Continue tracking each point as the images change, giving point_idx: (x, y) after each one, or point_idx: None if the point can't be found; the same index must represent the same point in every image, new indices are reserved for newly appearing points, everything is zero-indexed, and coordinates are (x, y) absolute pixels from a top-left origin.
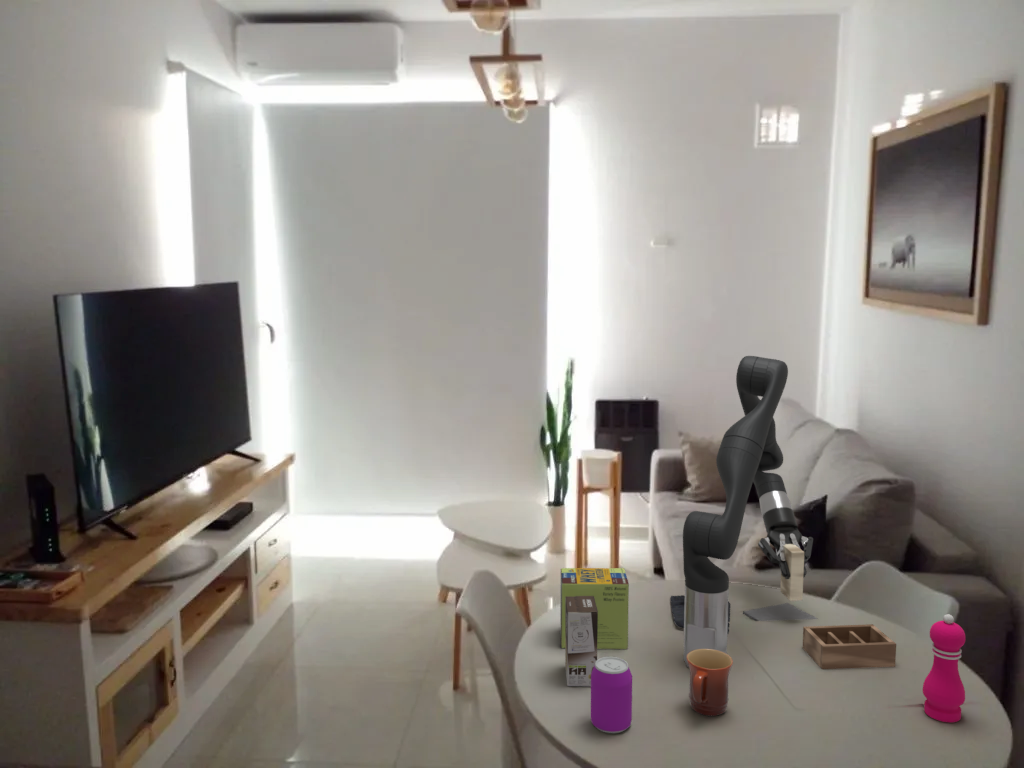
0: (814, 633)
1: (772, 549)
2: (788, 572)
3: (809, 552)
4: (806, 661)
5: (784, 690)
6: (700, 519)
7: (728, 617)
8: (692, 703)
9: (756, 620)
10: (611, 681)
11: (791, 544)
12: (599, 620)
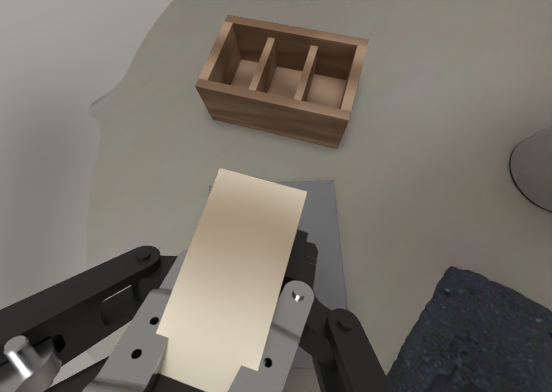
0: (347, 87)
1: (353, 385)
2: (301, 237)
3: (113, 266)
4: (354, 116)
5: (448, 55)
6: None
7: (411, 346)
8: None
9: (345, 304)
10: None
11: (175, 361)
12: None
